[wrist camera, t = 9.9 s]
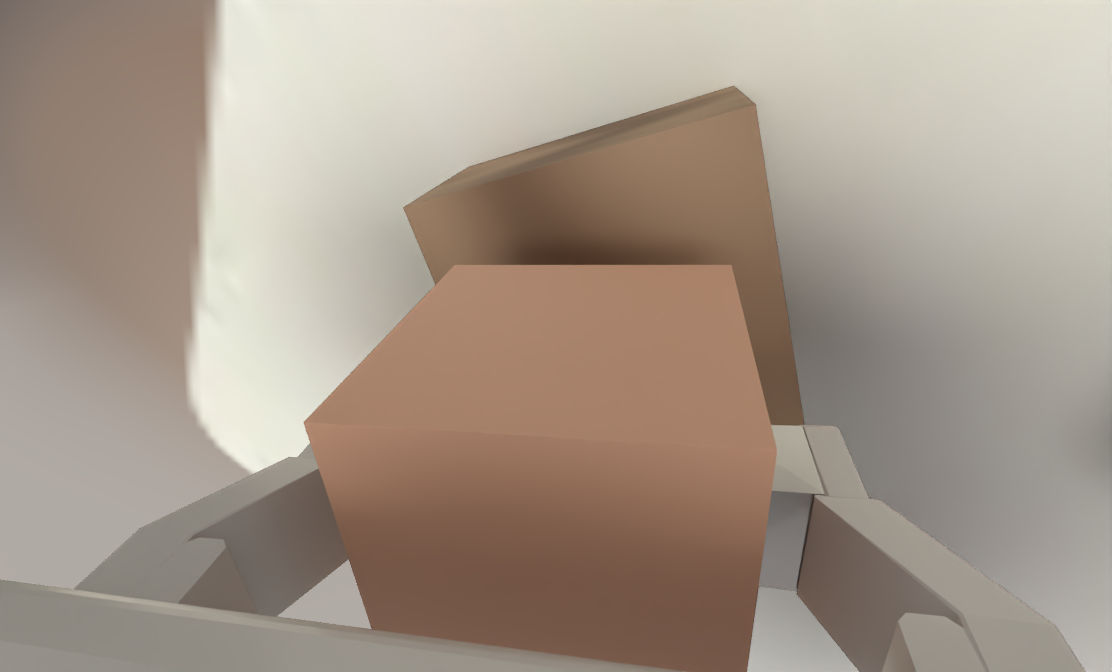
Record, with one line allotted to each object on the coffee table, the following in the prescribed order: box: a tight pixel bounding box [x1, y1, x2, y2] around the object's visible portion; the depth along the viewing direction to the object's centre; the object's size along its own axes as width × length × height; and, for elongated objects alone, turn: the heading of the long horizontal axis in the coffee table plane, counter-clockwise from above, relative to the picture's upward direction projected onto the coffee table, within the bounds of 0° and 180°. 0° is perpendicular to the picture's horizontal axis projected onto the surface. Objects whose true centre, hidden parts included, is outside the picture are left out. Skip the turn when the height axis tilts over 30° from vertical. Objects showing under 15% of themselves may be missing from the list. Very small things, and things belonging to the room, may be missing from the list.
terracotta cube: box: [304, 265, 777, 672], centre depth 9 cm, size 5×5×5 cm
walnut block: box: [403, 86, 804, 426], centre depth 16 cm, size 8×8×5 cm
